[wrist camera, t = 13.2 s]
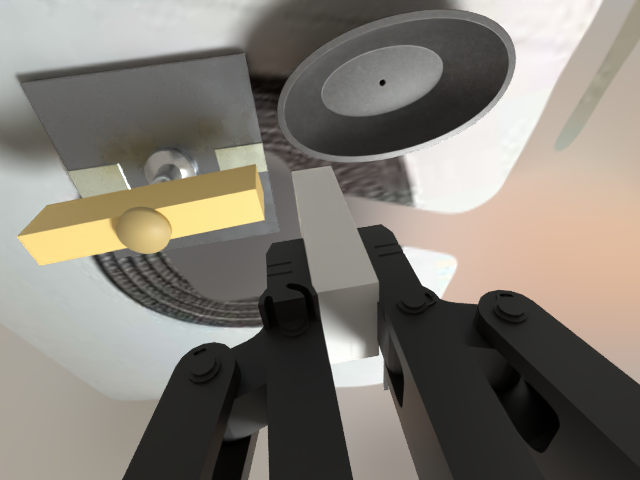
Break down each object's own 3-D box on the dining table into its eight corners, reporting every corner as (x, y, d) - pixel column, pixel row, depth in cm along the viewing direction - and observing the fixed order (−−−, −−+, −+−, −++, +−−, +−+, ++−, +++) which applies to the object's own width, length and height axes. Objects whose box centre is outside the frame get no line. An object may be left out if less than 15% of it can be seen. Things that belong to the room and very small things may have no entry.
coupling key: (254, 158, 32) (254, 188, 28) (264, 197, 35) (266, 229, 30) (43, 200, 32) (6, 237, 27) (68, 236, 34) (38, 276, 29)
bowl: (476, 111, 41) (507, 128, 36) (289, 158, 41) (294, 182, 36) (485, -17, 34) (524, -18, 29) (258, 39, 34) (258, 48, 29)
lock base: (27, 81, 33) (-22, 101, 27) (244, 52, 34) (242, 66, 28) (119, 252, 45) (99, 292, 39) (279, 226, 46) (282, 261, 40)
